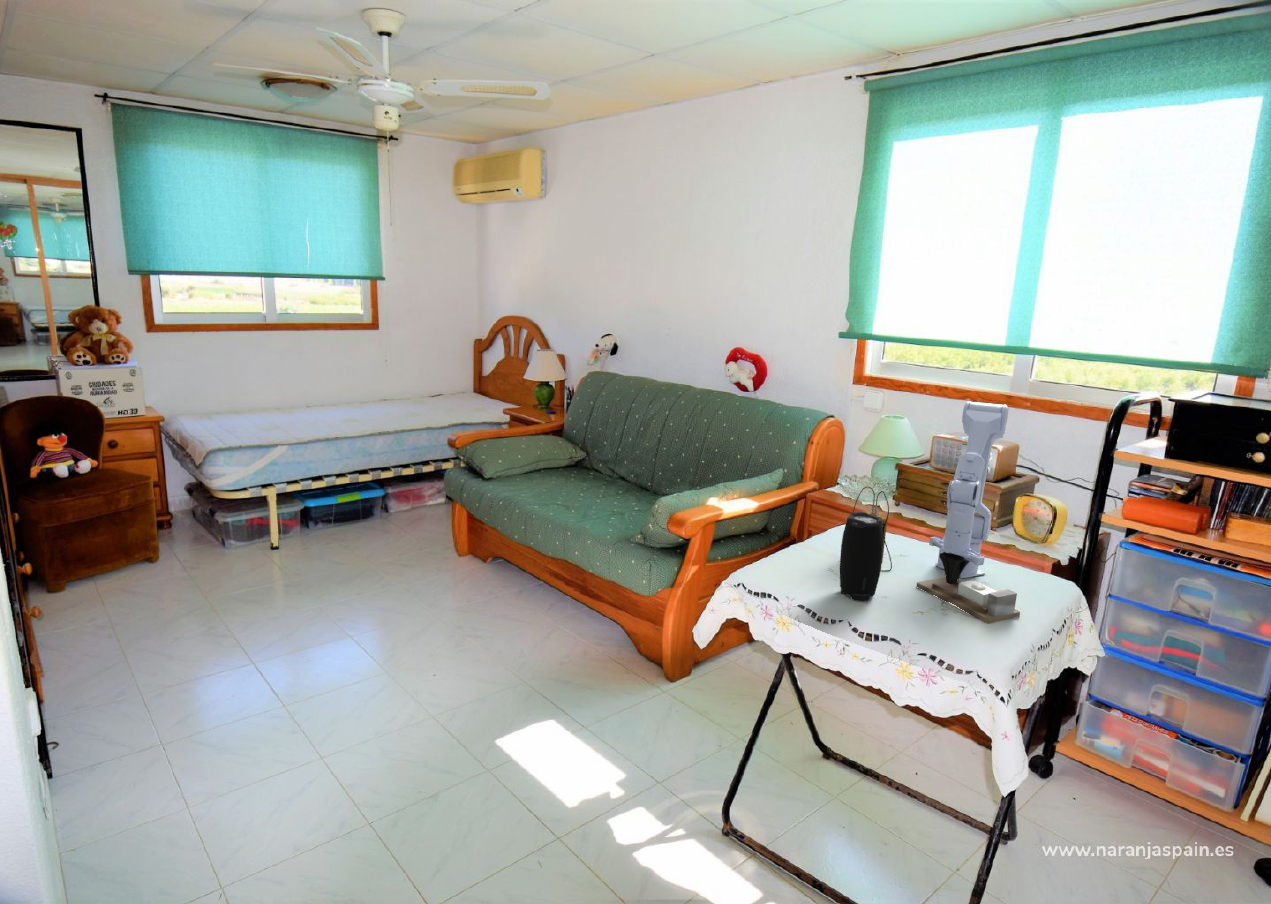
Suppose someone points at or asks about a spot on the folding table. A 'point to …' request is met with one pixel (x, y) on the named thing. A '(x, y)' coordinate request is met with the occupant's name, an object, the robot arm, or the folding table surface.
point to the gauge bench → (997, 603)
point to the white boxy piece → (974, 592)
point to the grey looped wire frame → (882, 521)
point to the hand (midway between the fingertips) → (951, 582)
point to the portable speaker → (861, 555)
